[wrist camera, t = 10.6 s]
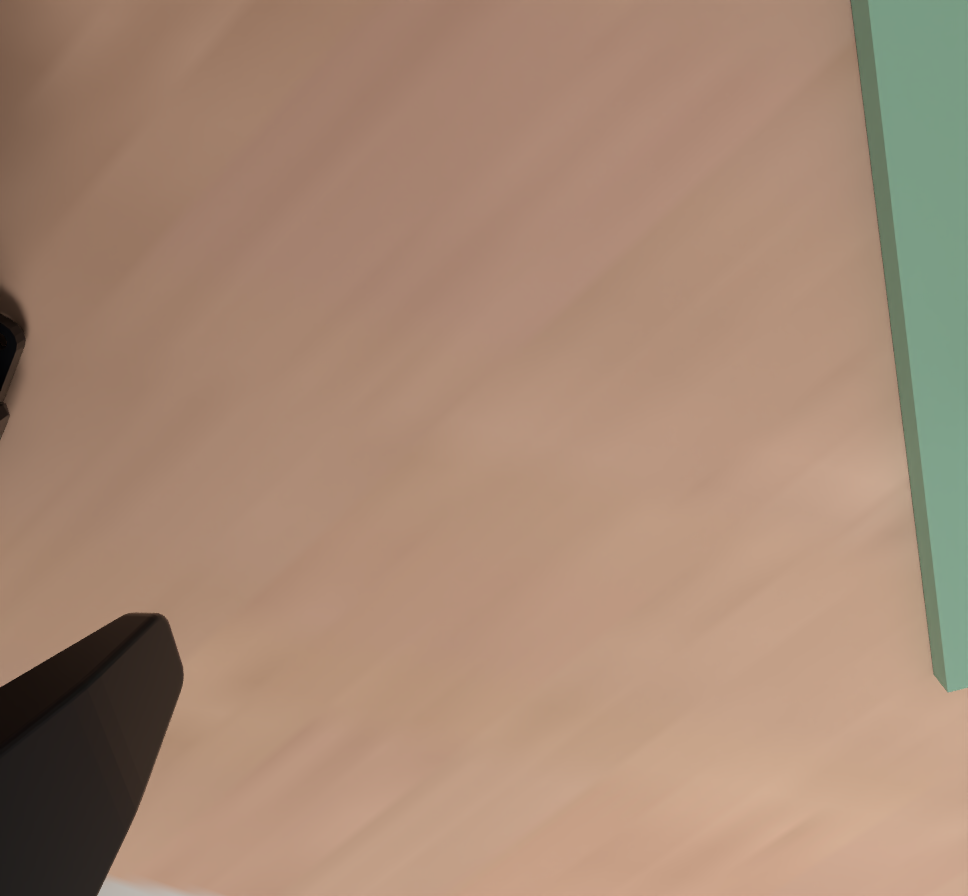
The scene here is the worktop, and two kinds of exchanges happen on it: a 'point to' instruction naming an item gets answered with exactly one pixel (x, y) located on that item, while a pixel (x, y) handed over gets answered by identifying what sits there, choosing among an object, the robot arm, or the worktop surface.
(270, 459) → the worktop surface
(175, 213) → the worktop surface
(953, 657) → the board
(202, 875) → the worktop surface
